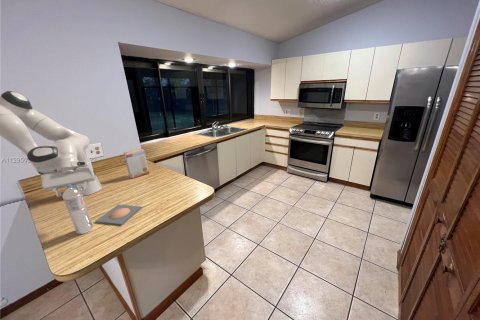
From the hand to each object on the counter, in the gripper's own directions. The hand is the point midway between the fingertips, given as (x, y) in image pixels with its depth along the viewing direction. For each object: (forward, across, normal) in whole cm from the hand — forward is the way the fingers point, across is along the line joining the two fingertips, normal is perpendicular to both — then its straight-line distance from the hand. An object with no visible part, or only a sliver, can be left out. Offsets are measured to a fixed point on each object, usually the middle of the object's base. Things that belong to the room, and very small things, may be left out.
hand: (71, 193), depth 95 cm
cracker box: (-25, +33, +52) cm, 67 cm away
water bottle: (+17, +1, +10) cm, 20 cm away
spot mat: (+14, +16, +13) cm, 25 cm away
